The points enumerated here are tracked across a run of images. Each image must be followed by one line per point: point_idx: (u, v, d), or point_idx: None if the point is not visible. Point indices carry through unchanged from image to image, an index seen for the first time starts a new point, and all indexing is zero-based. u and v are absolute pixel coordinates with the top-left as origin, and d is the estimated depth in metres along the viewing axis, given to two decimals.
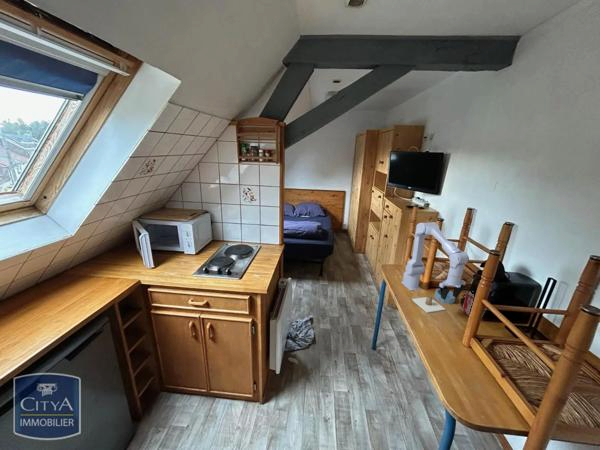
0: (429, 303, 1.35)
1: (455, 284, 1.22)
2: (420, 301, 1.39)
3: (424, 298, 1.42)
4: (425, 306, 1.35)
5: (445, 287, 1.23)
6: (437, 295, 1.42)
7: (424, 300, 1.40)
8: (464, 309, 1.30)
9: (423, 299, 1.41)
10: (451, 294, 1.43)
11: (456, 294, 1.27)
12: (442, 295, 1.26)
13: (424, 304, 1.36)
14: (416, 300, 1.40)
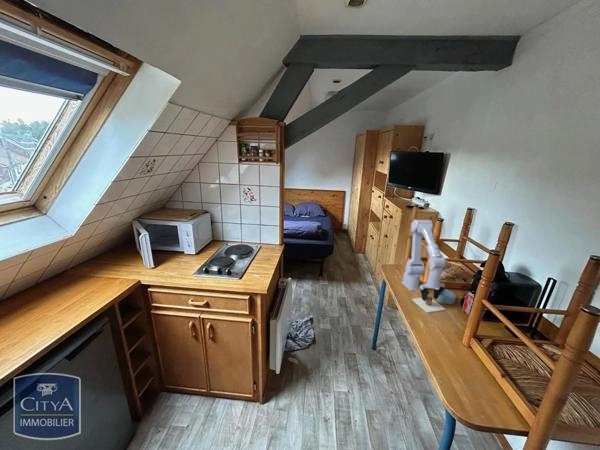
0: (429, 303, 1.35)
1: (434, 286, 1.30)
2: (420, 301, 1.39)
3: None
4: (425, 306, 1.35)
5: (425, 289, 1.32)
6: None
7: None
8: (464, 309, 1.30)
9: None
10: (451, 294, 1.43)
11: (436, 296, 1.35)
12: (423, 297, 1.35)
13: (424, 304, 1.36)
14: (416, 300, 1.40)
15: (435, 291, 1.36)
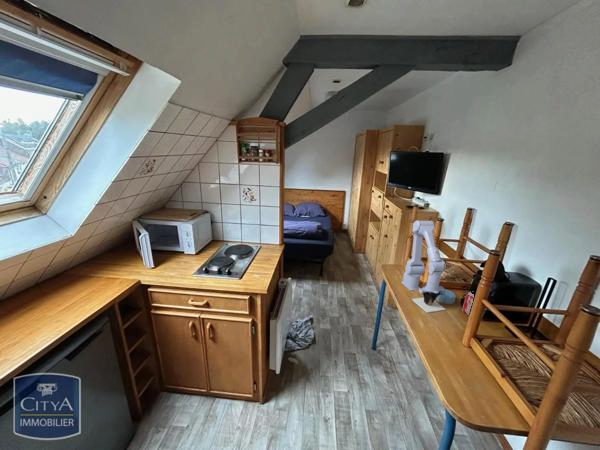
0: (429, 303, 1.35)
1: (433, 290, 1.31)
2: (420, 301, 1.39)
3: None
4: (425, 306, 1.35)
5: (427, 292, 1.33)
6: None
7: None
8: (464, 309, 1.30)
9: (423, 299, 1.41)
10: (451, 294, 1.43)
11: (432, 300, 1.36)
12: (425, 300, 1.36)
13: (424, 304, 1.36)
14: (416, 300, 1.40)
15: (431, 295, 1.36)
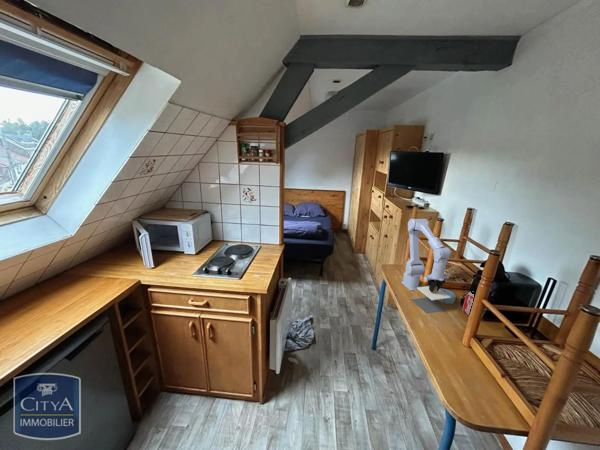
0: (434, 291, 1.34)
1: (438, 277, 1.30)
2: (425, 289, 1.38)
3: None
4: (430, 294, 1.33)
5: (432, 280, 1.32)
6: None
7: None
8: (464, 309, 1.30)
9: (428, 287, 1.40)
10: (451, 294, 1.43)
11: (437, 288, 1.35)
12: (430, 288, 1.35)
13: (429, 292, 1.35)
14: (421, 288, 1.39)
15: (436, 283, 1.35)
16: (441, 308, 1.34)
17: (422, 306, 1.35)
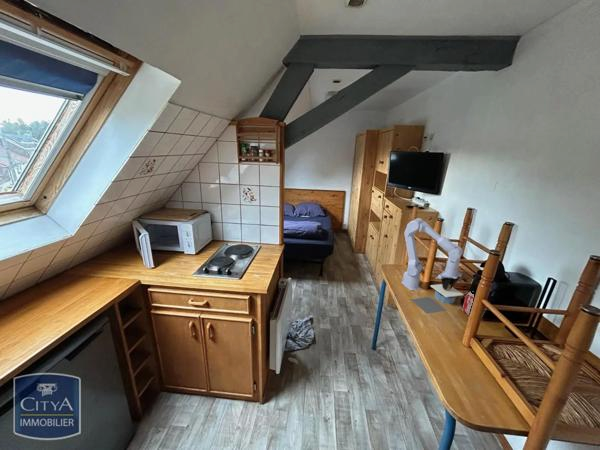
0: (448, 289, 1.40)
1: (452, 276, 1.36)
2: (438, 287, 1.43)
3: None
4: (444, 291, 1.39)
5: (446, 278, 1.37)
6: (437, 295, 1.42)
7: (442, 286, 1.44)
8: (464, 309, 1.30)
9: (441, 285, 1.45)
10: None
11: None
12: (443, 285, 1.40)
13: (443, 290, 1.41)
14: (434, 286, 1.44)
15: (449, 281, 1.41)
16: (441, 308, 1.34)
17: (422, 306, 1.35)
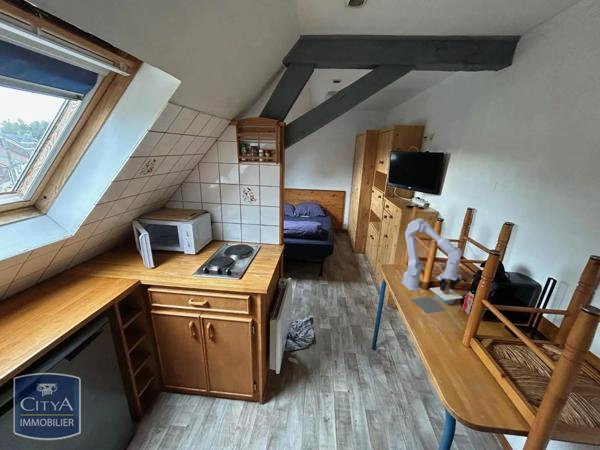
0: (447, 292, 1.40)
1: (452, 277, 1.36)
2: (438, 290, 1.44)
3: None
4: (443, 294, 1.40)
5: (443, 280, 1.37)
6: (437, 295, 1.42)
7: None
8: (464, 309, 1.30)
9: None
10: None
11: (452, 286, 1.41)
12: (441, 287, 1.40)
13: (442, 293, 1.41)
14: (434, 289, 1.45)
15: (451, 282, 1.42)
16: (441, 308, 1.34)
17: (422, 306, 1.35)
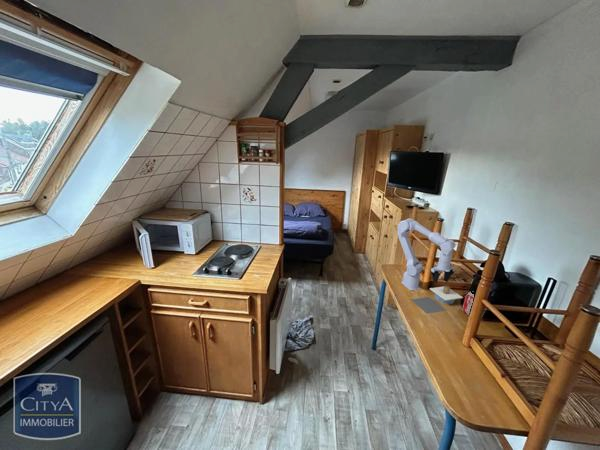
0: (447, 292, 1.40)
1: (445, 269, 1.37)
2: (438, 290, 1.44)
3: (441, 287, 1.47)
4: (443, 294, 1.40)
5: (436, 272, 1.38)
6: (437, 295, 1.42)
7: (441, 289, 1.45)
8: (464, 309, 1.30)
9: (440, 288, 1.46)
10: None
11: (446, 278, 1.42)
12: (434, 279, 1.41)
13: (442, 293, 1.41)
14: (434, 289, 1.45)
15: (445, 274, 1.42)
16: (441, 308, 1.34)
17: (422, 306, 1.35)
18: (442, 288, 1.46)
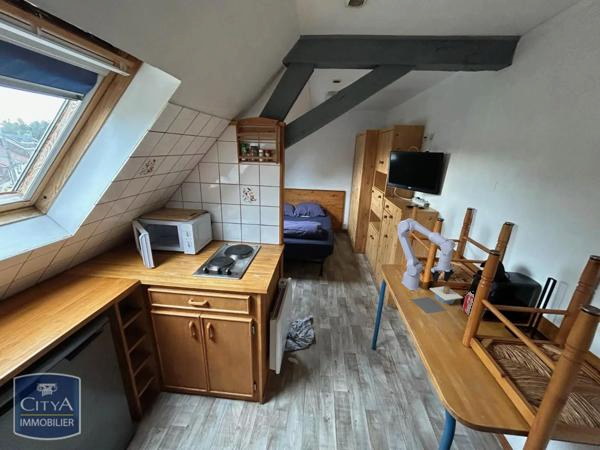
0: (447, 292, 1.40)
1: (445, 269, 1.37)
2: (438, 290, 1.44)
3: (441, 287, 1.47)
4: (443, 294, 1.40)
5: (436, 272, 1.38)
6: (437, 295, 1.42)
7: (441, 289, 1.45)
8: (464, 309, 1.30)
9: (440, 288, 1.46)
10: None
11: (446, 278, 1.42)
12: (434, 279, 1.41)
13: (442, 293, 1.41)
14: (434, 289, 1.45)
15: (445, 274, 1.42)
16: (441, 308, 1.34)
17: (422, 306, 1.35)
18: (442, 288, 1.46)
